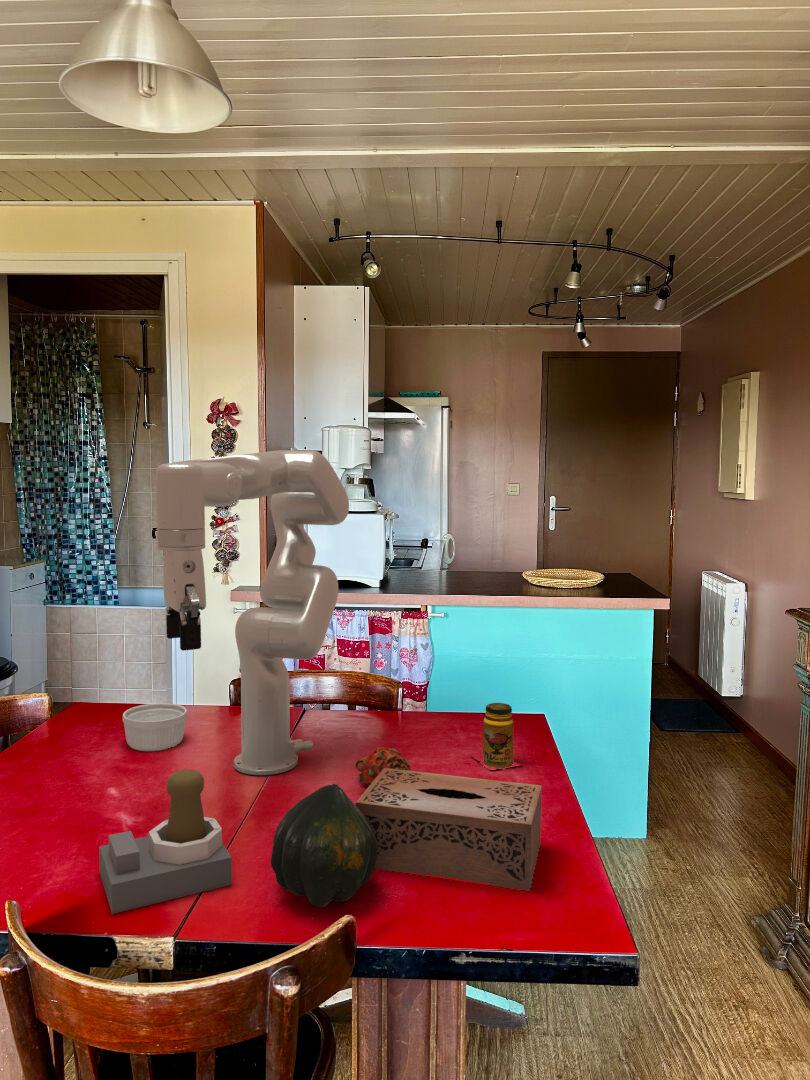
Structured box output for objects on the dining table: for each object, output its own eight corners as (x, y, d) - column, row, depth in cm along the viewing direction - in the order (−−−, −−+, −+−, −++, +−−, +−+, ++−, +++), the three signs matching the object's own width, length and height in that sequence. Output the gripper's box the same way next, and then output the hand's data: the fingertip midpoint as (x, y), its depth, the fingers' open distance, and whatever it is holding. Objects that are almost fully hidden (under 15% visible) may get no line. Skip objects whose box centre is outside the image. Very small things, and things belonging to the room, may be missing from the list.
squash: (265, 891, 98) (340, 792, 101) (241, 844, 112) (307, 758, 115) (346, 945, 102) (415, 848, 106) (313, 894, 116) (375, 809, 120)
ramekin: (200, 740, 170) (200, 709, 169) (151, 758, 159) (150, 725, 158) (159, 729, 177) (158, 699, 176) (109, 746, 166) (109, 714, 165)
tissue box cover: (355, 867, 116) (355, 802, 115) (383, 826, 129) (384, 767, 129) (529, 893, 109) (531, 824, 108) (540, 847, 123) (541, 785, 122)
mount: (209, 848, 120) (209, 808, 120) (231, 884, 110) (231, 840, 109) (99, 872, 113) (98, 829, 112) (112, 913, 102) (111, 866, 102)
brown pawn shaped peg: (196, 858, 109) (195, 782, 108) (156, 854, 110) (155, 778, 109) (215, 839, 115) (214, 766, 114) (177, 835, 116) (176, 763, 115)
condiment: (490, 772, 153) (491, 712, 152) (470, 757, 161) (471, 700, 160) (522, 767, 156) (524, 708, 155) (501, 753, 164) (502, 697, 163)
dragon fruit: (411, 808, 139) (358, 802, 146) (428, 769, 145) (377, 764, 152) (390, 779, 135) (337, 774, 142) (409, 739, 141) (357, 736, 148)
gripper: (218, 543, 121) (220, 651, 122) (191, 534, 136) (193, 631, 137) (169, 545, 117) (171, 657, 119) (147, 536, 132) (149, 635, 134)
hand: (183, 643), depth 128 cm, fingers open, 9 cm apart
